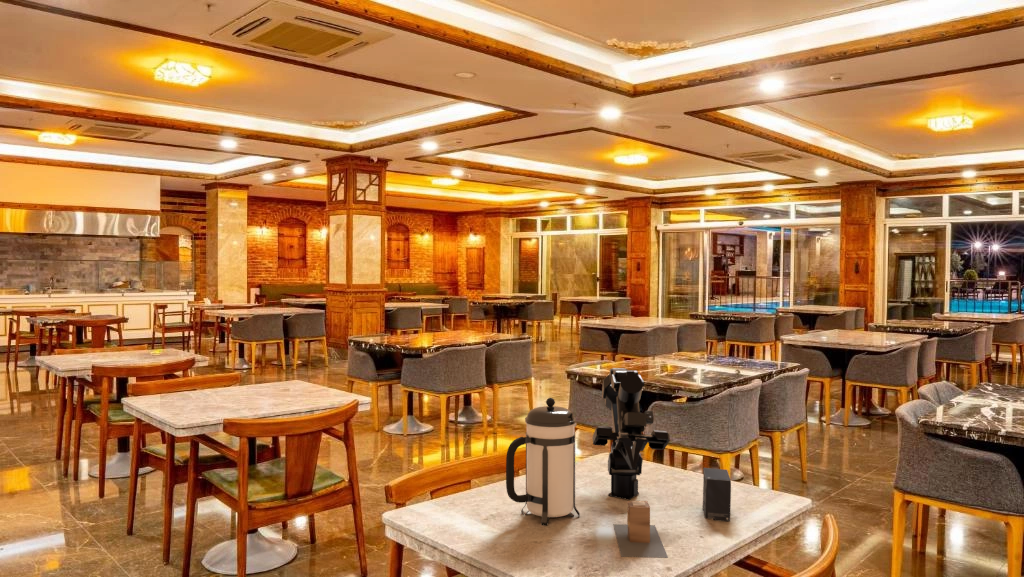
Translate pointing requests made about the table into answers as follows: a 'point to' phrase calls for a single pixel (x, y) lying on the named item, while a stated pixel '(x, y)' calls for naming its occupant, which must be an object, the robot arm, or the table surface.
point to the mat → (639, 544)
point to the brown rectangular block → (638, 521)
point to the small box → (716, 494)
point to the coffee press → (546, 462)
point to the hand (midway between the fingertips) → (633, 469)
